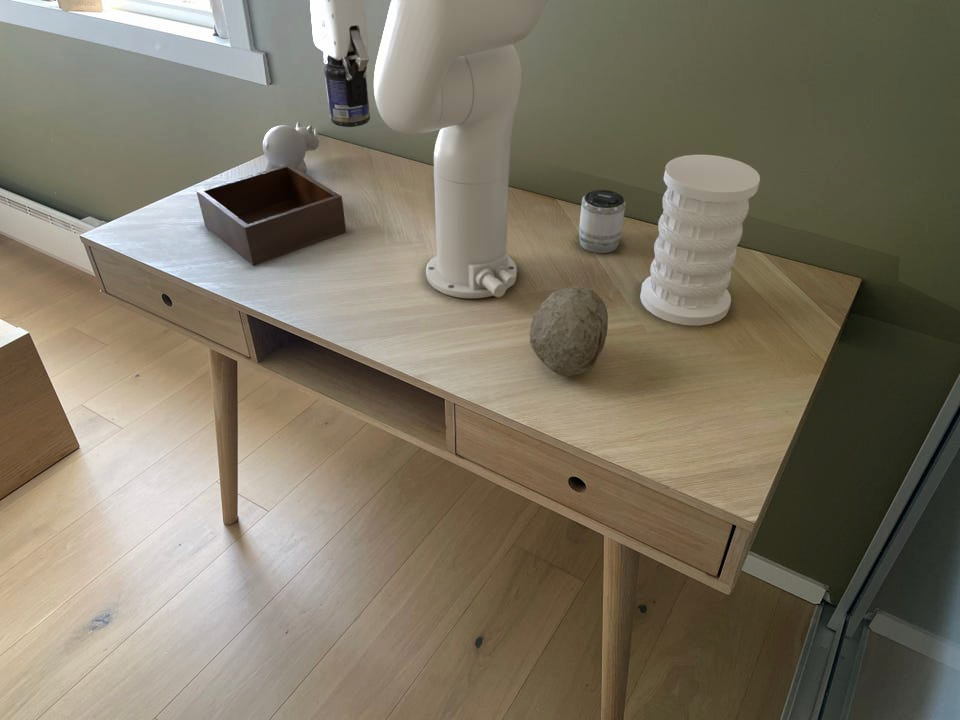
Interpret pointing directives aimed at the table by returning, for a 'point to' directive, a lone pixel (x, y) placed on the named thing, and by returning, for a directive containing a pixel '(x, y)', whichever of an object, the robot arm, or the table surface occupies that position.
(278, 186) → the box
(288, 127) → the toy rhinoceros
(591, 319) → the decorative stone
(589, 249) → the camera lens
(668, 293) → the decorative container
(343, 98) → the pill bottle
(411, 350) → the table surface
